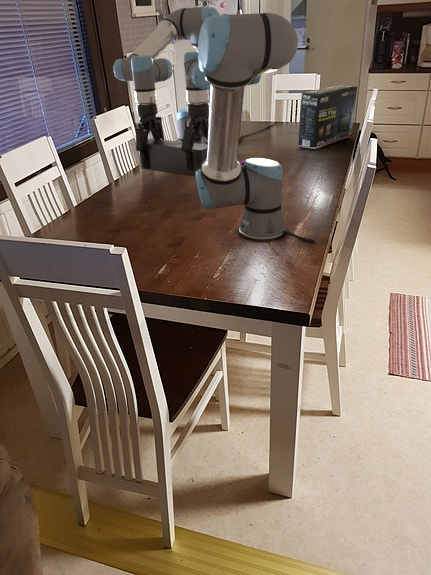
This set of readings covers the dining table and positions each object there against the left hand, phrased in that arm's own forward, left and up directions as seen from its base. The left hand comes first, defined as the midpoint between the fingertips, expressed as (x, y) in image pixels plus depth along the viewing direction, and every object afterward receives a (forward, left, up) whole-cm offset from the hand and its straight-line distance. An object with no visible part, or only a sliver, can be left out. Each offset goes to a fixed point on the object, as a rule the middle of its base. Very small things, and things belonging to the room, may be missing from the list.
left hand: (153, 165), depth 178 cm
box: (+3, +11, -1) cm, 11 cm away
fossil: (-89, +12, -12) cm, 91 cm away
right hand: (+7, +21, +3) cm, 22 cm away
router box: (-88, +66, -12) cm, 110 cm away
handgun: (-39, +34, -12) cm, 53 cm away
